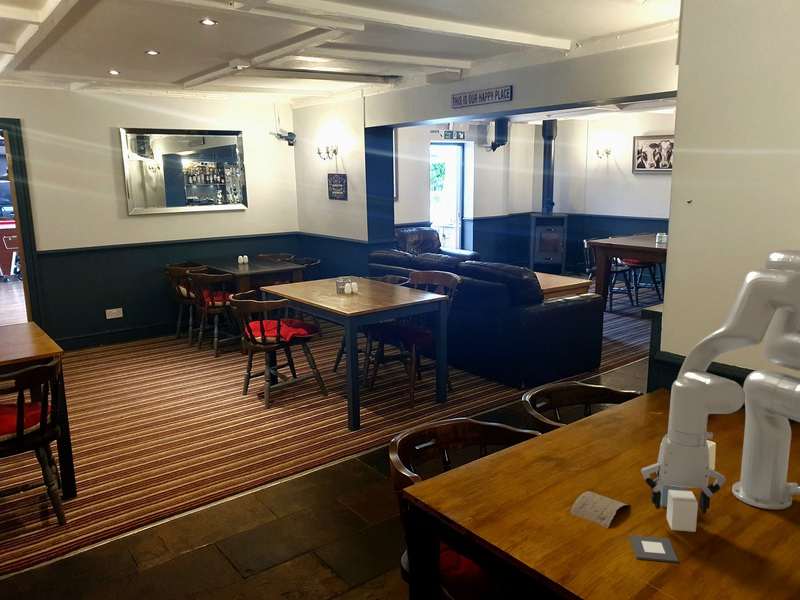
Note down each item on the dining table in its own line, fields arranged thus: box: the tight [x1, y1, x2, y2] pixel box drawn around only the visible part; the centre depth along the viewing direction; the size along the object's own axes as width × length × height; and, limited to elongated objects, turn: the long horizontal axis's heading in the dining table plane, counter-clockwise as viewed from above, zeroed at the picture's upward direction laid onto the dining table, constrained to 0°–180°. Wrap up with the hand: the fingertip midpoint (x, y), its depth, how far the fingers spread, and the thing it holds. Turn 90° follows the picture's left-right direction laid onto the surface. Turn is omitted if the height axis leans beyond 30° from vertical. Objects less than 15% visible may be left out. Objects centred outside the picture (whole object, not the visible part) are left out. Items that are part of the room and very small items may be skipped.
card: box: [629, 534, 679, 563], centre depth 130 cm, size 8×8×1 cm
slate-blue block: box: [660, 485, 687, 508], centre depth 148 cm, size 5×5×7 cm
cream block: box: [666, 490, 699, 532], centre depth 138 cm, size 5×5×7 cm
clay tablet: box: [569, 490, 628, 529], centre depth 146 cm, size 14×10×3 cm
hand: (679, 508), depth 138 cm, fingers open, 9 cm apart
